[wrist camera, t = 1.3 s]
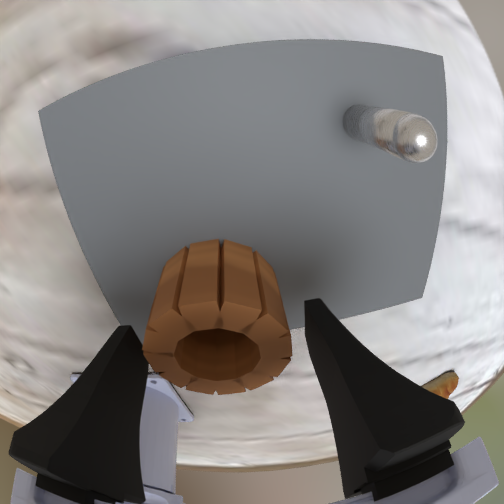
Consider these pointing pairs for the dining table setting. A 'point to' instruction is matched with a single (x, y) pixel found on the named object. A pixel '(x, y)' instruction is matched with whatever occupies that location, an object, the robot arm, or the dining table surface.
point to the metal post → (392, 131)
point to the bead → (217, 320)
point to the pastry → (443, 384)
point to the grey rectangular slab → (254, 171)
